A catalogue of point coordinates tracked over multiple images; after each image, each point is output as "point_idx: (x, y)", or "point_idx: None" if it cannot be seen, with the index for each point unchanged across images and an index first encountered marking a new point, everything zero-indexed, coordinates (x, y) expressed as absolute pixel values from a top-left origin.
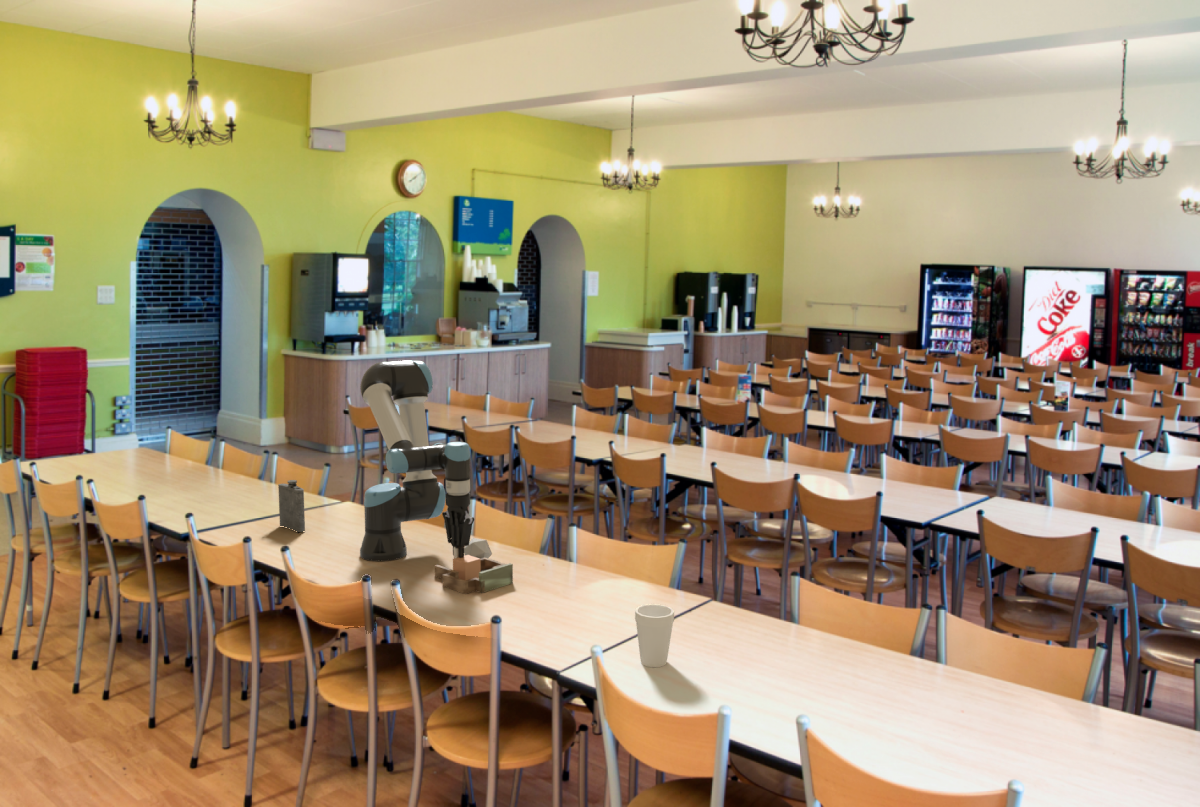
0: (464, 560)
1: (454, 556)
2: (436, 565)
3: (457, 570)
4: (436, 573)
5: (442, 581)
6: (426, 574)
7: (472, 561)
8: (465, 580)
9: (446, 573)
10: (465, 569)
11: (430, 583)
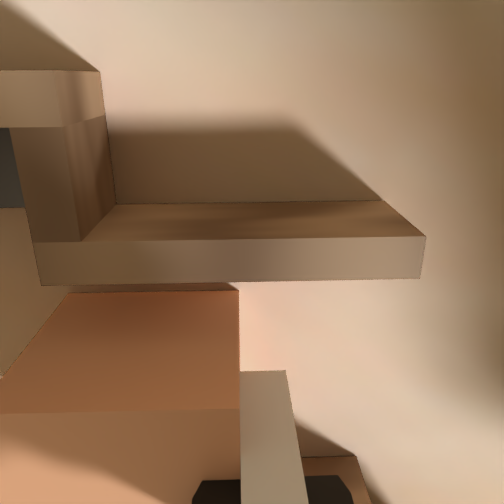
0: (79, 460)
1: (285, 463)
2: (409, 250)
3: (165, 334)
4: (367, 210)
5: (84, 71)
6: (490, 183)
7: (4, 498)
8: (64, 299)
9: (207, 225)
10: (16, 360)
11: (255, 33)
